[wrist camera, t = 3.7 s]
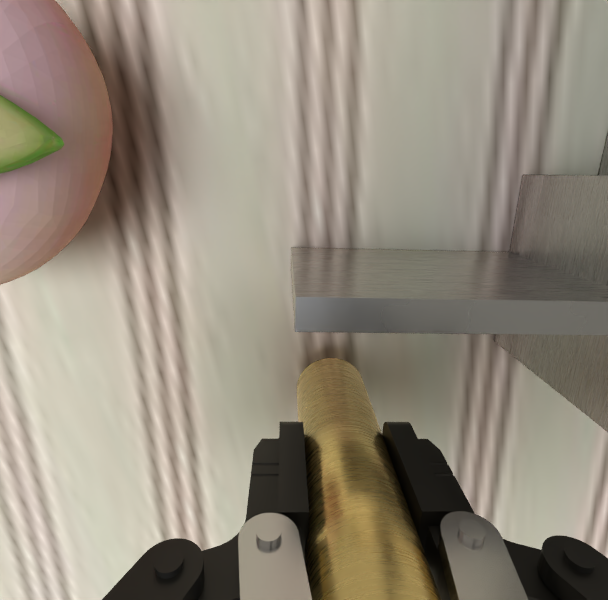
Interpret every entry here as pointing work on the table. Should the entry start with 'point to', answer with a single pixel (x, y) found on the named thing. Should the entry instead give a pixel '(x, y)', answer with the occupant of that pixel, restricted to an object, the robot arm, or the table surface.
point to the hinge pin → (354, 496)
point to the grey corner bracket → (488, 288)
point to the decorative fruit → (47, 134)
